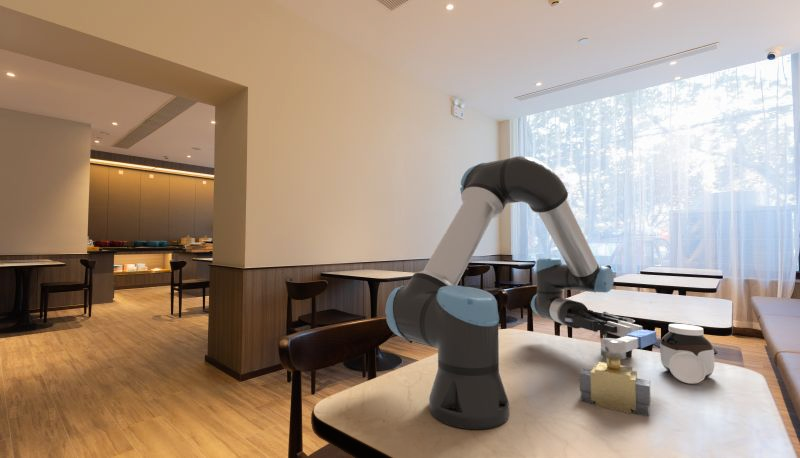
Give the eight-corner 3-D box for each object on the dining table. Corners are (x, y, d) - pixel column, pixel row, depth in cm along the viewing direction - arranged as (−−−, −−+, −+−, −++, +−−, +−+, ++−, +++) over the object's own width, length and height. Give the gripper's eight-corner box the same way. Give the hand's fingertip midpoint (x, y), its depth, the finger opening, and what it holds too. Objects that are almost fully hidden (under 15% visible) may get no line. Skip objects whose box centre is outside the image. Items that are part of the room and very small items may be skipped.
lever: (596, 355, 75) (596, 340, 76) (638, 340, 87) (638, 327, 87) (619, 360, 72) (619, 345, 72) (660, 344, 83) (659, 330, 83)
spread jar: (696, 369, 94) (694, 323, 95) (734, 386, 83) (732, 334, 83) (648, 369, 95) (646, 323, 95) (680, 386, 83) (678, 334, 84)
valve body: (579, 401, 76) (578, 354, 76) (584, 391, 80) (583, 348, 81) (649, 417, 69) (648, 366, 69) (651, 405, 73) (649, 357, 74)
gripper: (592, 324, 110) (664, 346, 87) (546, 327, 107) (607, 351, 84) (592, 298, 111) (662, 314, 88) (545, 301, 107) (606, 318, 84)
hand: (635, 332), depth 86 cm, fingers open, 2 cm apart
